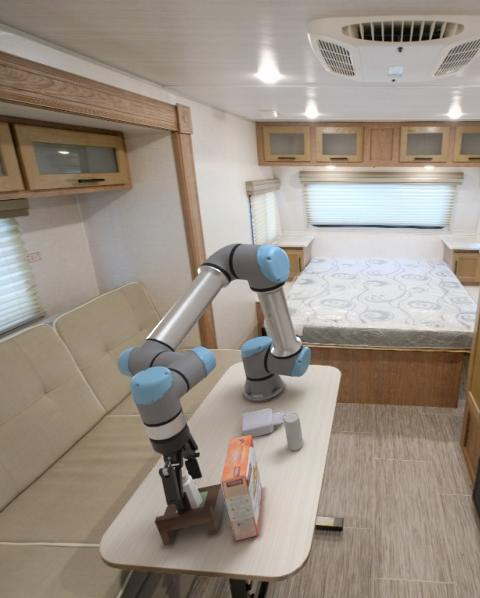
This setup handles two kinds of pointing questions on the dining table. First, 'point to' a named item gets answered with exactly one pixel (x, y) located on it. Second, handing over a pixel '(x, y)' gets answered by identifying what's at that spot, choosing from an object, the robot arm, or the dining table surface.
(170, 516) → the shelf
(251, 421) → the charger
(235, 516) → the cracker box
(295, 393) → the dining table surface
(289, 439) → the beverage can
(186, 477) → the salt shaker
